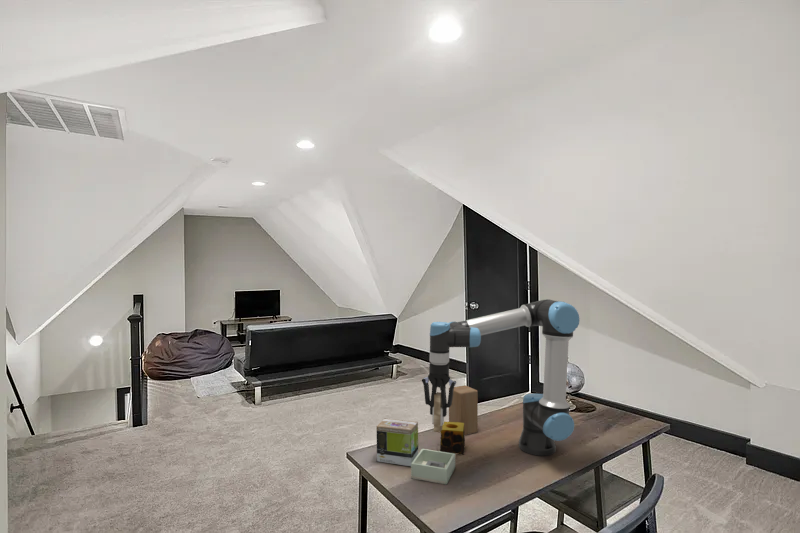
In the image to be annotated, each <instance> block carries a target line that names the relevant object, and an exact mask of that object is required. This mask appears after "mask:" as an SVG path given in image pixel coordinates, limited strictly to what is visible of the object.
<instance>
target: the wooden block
mask: <svg viewBox="0 0 800 533" xmlns="http://www.w3.org/2000/svg"><path fill="white" fill-rule="evenodd" d="M478 392H479V391H478V389H475V388H472V387H470V386H468V385H460V386H454V391H453V398H452V405H451V406H450V407H449V408H448V422H459V423H464V436H467V435H472V434H475V433H478V430H479V429H478V428H479V426H478V422H479V421H478V419H479V416H478V410H479V408H478V407H479V406H478V402H479V401H478V400H479V399H478V397H479V396H478Z"/></svg>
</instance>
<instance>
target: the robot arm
mask: <svg viewBox="0 0 800 533" xmlns="http://www.w3.org/2000/svg"><path fill="white" fill-rule="evenodd" d="M579 325H580V314H579V312H578V310H577V308H576V307H575V306H573V305H572V304H570V303H568V302H565V301H560V300H553V299H541V300H537V301H532V302H529V303H525V304H522V305H521V306H520V307H518V308H513V309H510V310H506V311H501V312H496V313H491V314H488V315H483V316H479V317H474V318H470V319H466V320H461V321H450V322H447V321H434V322H431V324H430V328H429V366H428V367H429V369H428V371H429V372H428V373H429V374H428V376H426V377H423V378H422V379H421V382H422V384H423V390H424V391H423V392H424V402H425V404H426V405H428V406H429V415H431V417H432V421H431V422H432V425H433V426H434V395H435V394H436V393H437V390H438V389H437V388H439V389H440V392H441V398H442V407H441V413H440V426H442V425H443V424H444V422H445V417H447V411H448V410H447V408H448V409H449V407H450V406H451V405H452V398H453V391H454V387H456V385H457V381H456V380H452V379H451V377H450V364H449V363H450V348H469V349H470V348H477V347H479V346H480V344H481V342H482V336H484V335H489V334H493V333H497V332H501V331H507V330H511V329H514V328H520V327H524V326H525V327H527V328H530V327H542V328H541V329H542V330H541V335H543V337H544V338H545V346H544V347H545V348H544V350H545V351H544V366H543V368H544V371H543V372H544V374H543V391H542V393H528V394H525V395H524V396H523V398H522V431H521V434H520V436H519V439H518V440H519V441H518V448H519V449H520V451H522V452H524V453H526V454H528V455H529V454H530V455H534V456H541V457H542V456H550V455H553V454H555V453H556V451H557V447H556V443H555V442H560V441H561V442H562V441H564V440H567V439H568V437H570V436H571V435H572V434H573V432H574V430H575V421H574V419H573V417H572V416H571V415H570V408H571V406H570V403H568V402H567V400H566V399H567V383H568V382H567V379H568V362H569V361H568V359H569V341H570V340H571V339H573V337H574V331H576V329H577V328H578V327H579ZM429 382H430V384H431V394H430V386H429V385H430V384H429ZM446 385H449V388H448V398H447V390H446V389H447V388H446Z"/></svg>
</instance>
